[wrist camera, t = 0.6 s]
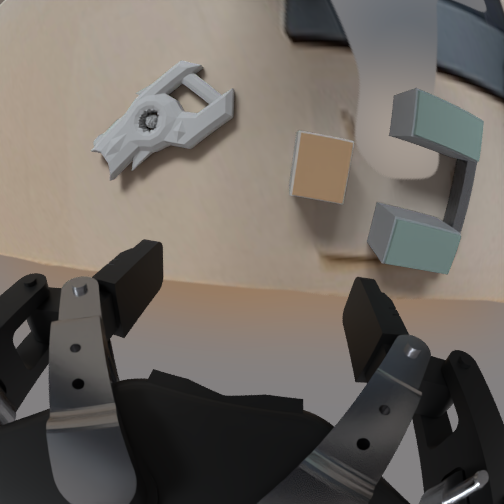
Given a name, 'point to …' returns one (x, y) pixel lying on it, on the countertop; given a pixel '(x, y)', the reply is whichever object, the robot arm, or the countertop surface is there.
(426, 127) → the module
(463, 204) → the rail
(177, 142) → the grey flat plastic piece
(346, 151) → the block
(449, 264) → the block
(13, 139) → the countertop surface
